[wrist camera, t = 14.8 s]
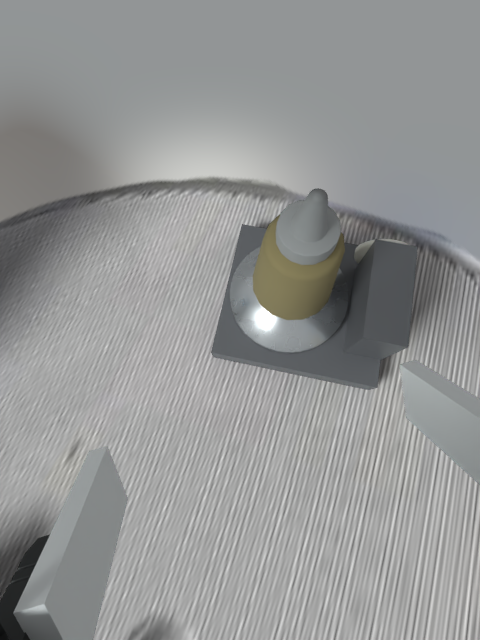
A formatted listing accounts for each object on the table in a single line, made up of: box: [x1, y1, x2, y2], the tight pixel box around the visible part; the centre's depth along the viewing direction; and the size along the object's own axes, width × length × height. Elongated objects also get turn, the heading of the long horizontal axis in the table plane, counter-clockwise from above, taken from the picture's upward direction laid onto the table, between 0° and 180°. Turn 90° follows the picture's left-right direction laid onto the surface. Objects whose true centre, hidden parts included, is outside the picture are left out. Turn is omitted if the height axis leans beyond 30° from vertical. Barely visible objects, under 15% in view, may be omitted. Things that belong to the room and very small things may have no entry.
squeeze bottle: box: [253, 189, 345, 320], centre depth 31 cm, size 8×8×18 cm
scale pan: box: [230, 247, 348, 353], centre depth 40 cm, size 13×13×1 cm
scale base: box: [211, 224, 418, 390], centre depth 39 cm, size 19×16×10 cm
